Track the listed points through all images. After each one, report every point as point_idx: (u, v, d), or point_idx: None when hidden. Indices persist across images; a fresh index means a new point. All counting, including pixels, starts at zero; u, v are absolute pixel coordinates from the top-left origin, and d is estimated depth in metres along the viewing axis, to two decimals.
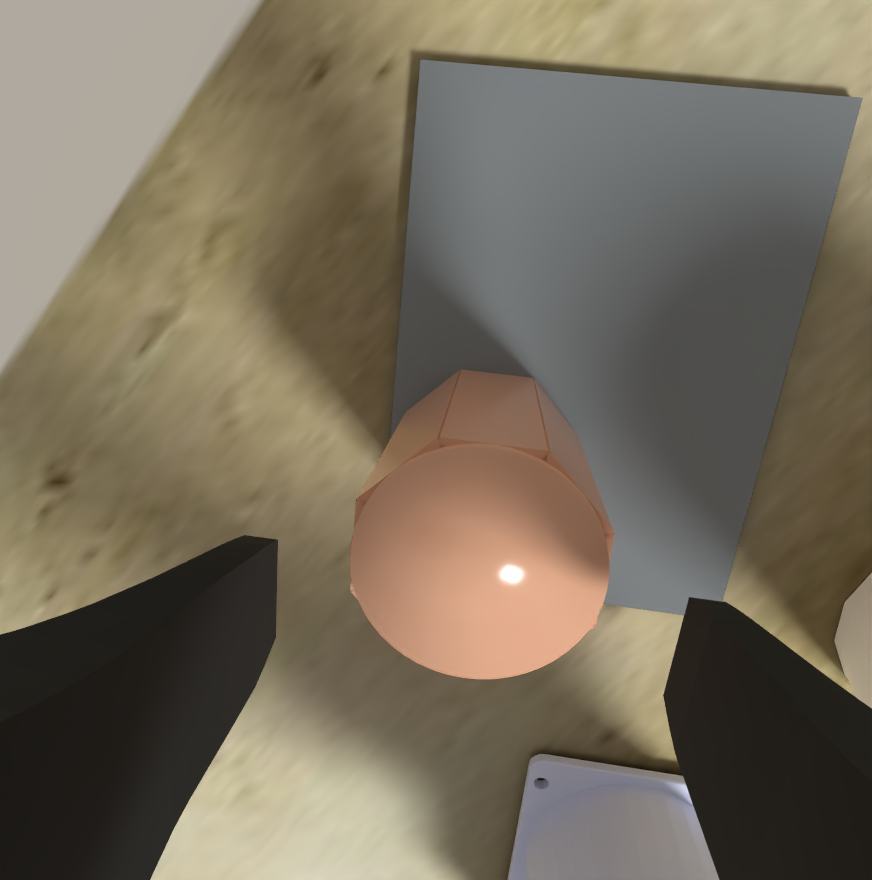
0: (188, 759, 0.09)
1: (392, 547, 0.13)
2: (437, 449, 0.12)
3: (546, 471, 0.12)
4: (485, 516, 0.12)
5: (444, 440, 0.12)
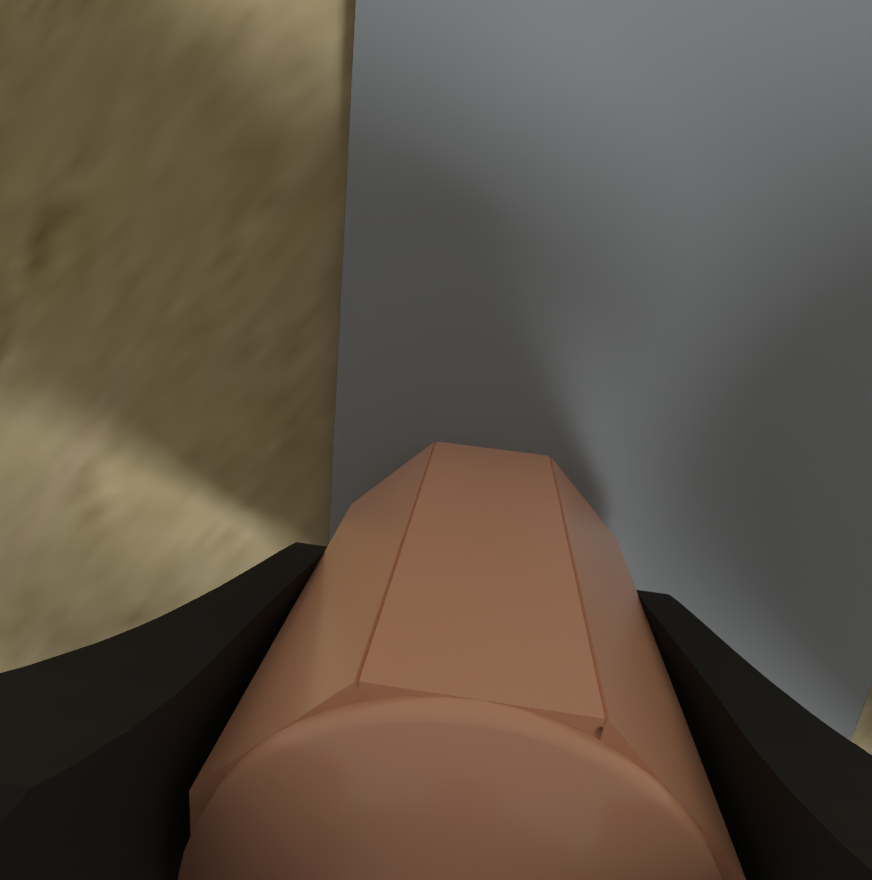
0: None
1: None
2: (354, 709, 0.05)
3: (603, 778, 0.05)
4: (462, 854, 0.05)
5: (370, 686, 0.05)
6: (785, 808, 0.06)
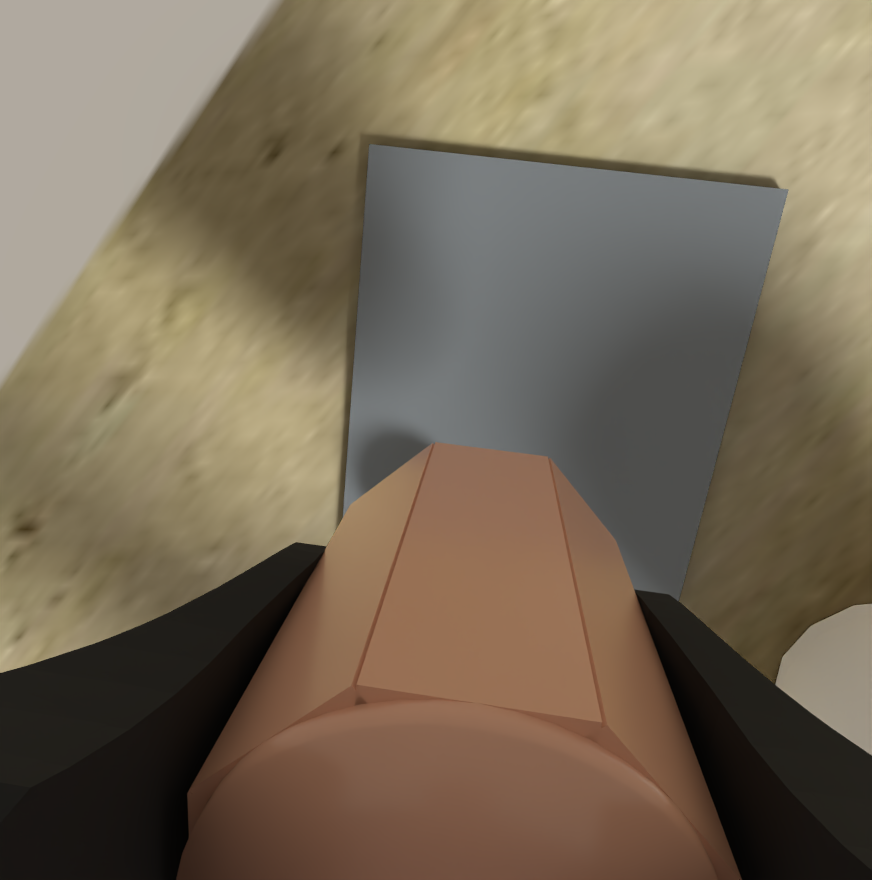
0: None
1: None
2: (351, 712, 0.05)
3: (600, 782, 0.05)
4: (459, 856, 0.06)
5: (367, 689, 0.05)
6: (785, 809, 0.06)
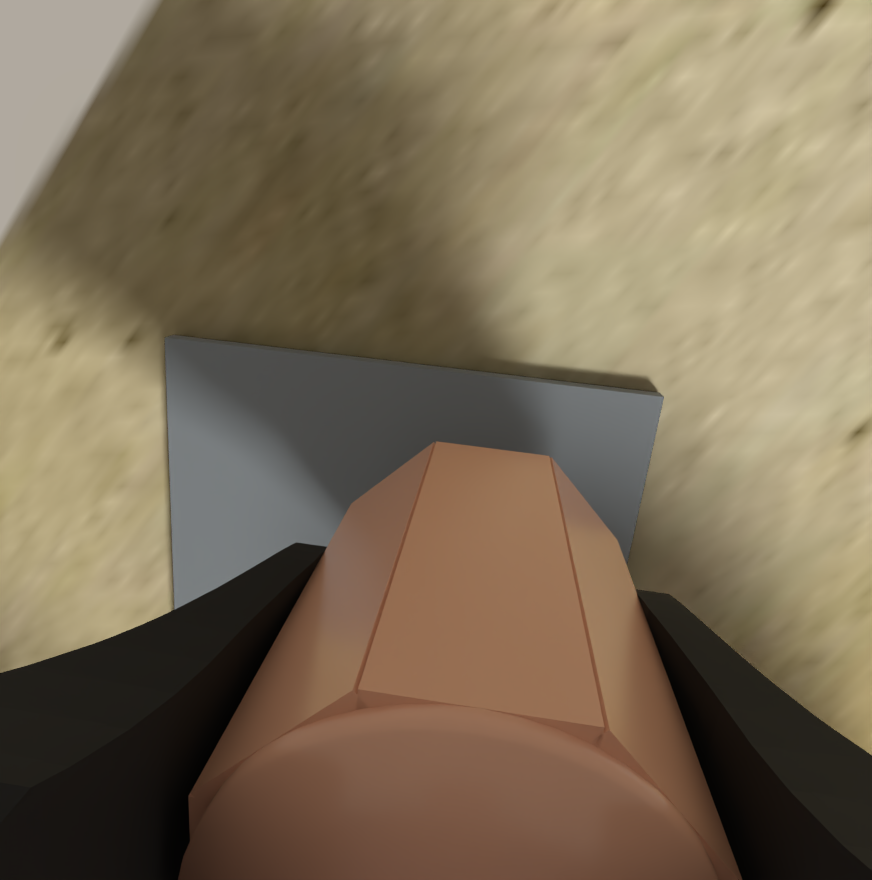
0: None
1: None
2: (352, 717, 0.05)
3: (602, 787, 0.05)
4: (461, 860, 0.05)
5: (369, 694, 0.05)
6: (785, 809, 0.06)
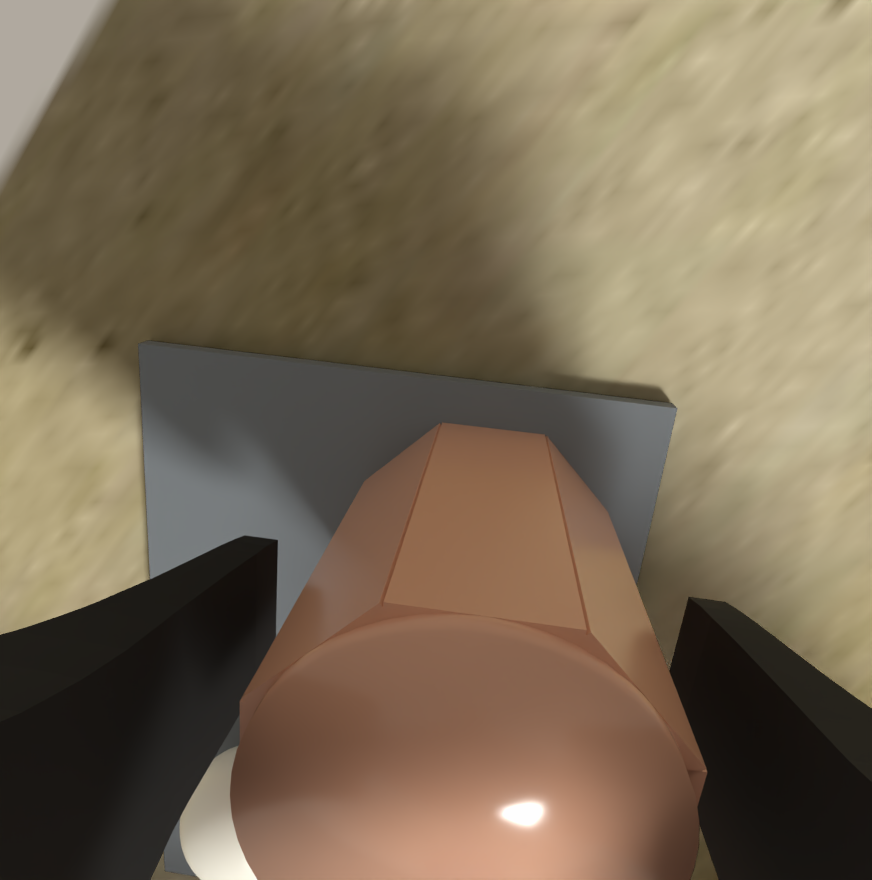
0: (188, 759, 0.09)
1: (304, 789, 0.07)
2: (379, 625, 0.07)
3: (584, 675, 0.06)
4: (470, 745, 0.07)
5: (392, 607, 0.07)
6: None
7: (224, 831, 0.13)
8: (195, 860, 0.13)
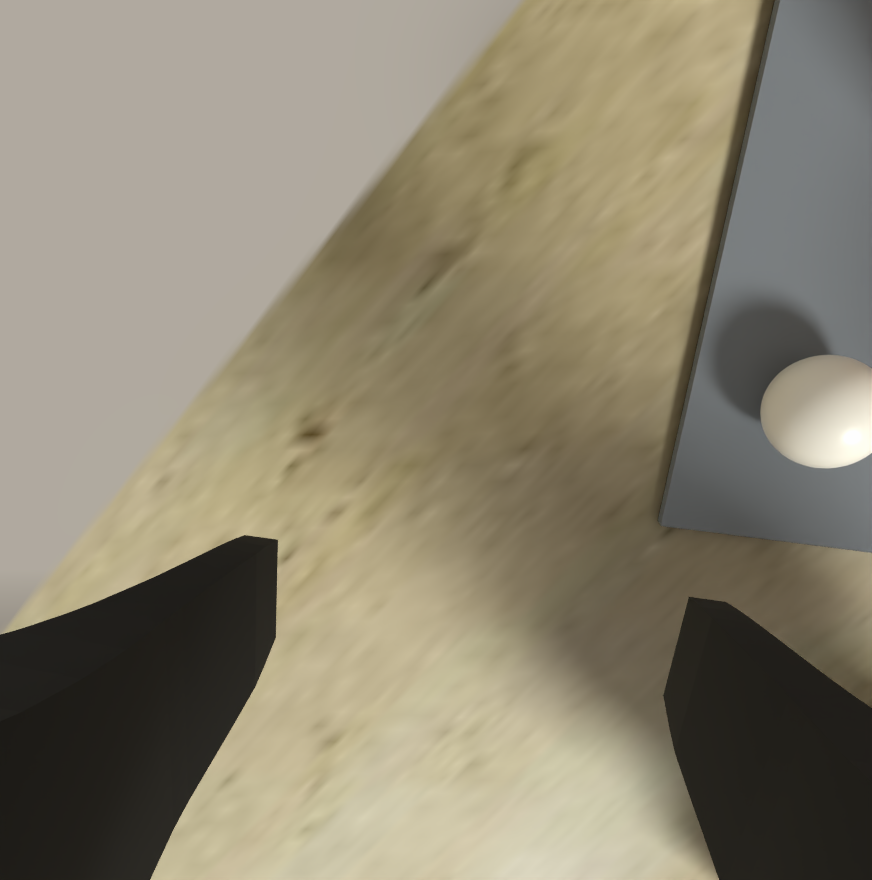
0: (188, 759, 0.09)
1: None
2: None
3: None
4: None
5: None
6: None
7: (856, 389, 0.15)
8: (825, 419, 0.15)
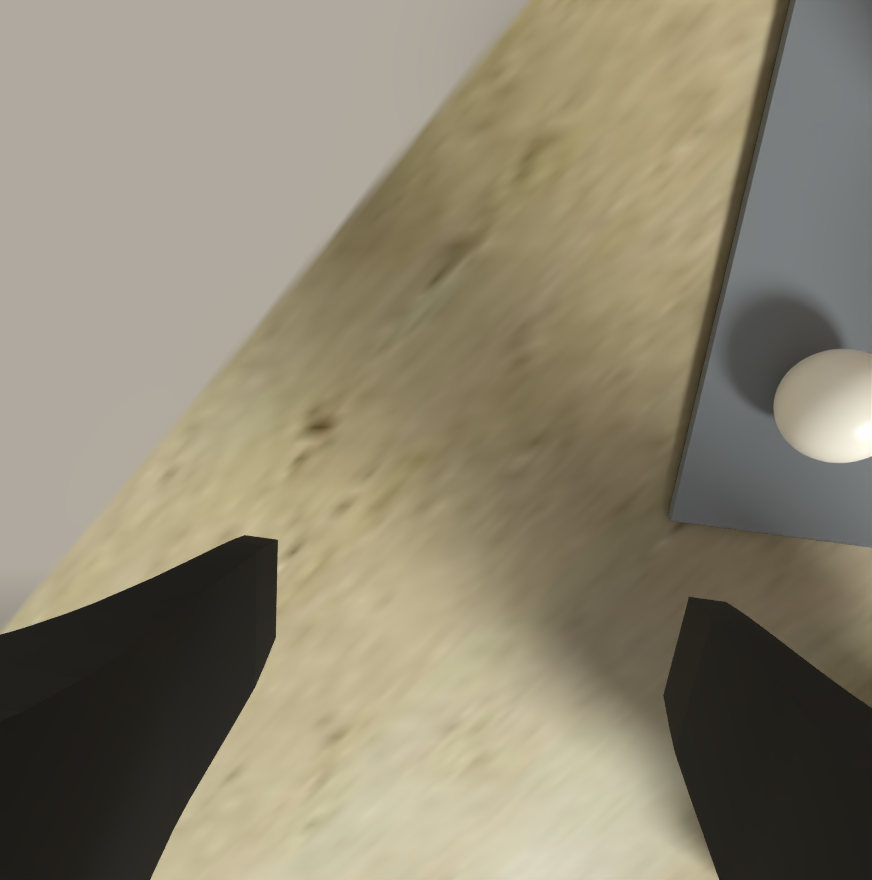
0: (188, 759, 0.09)
1: None
2: None
3: None
4: None
5: None
6: None
7: (871, 383, 0.15)
8: (840, 413, 0.15)
